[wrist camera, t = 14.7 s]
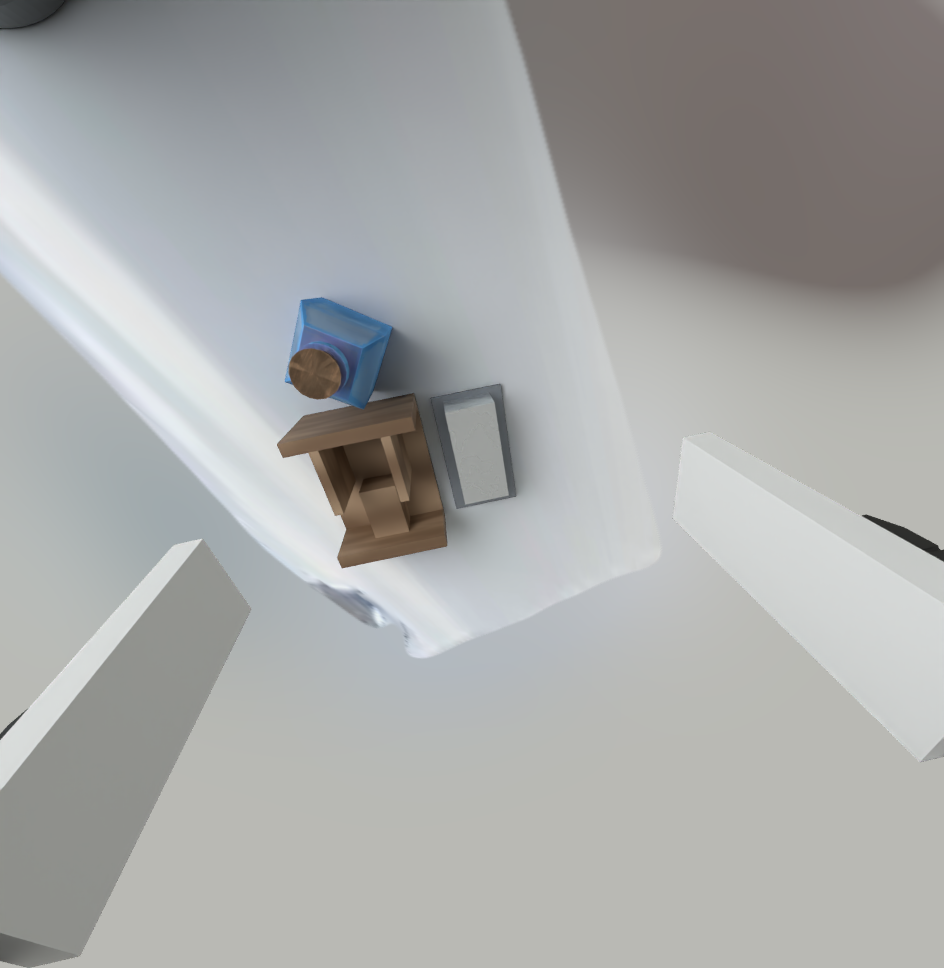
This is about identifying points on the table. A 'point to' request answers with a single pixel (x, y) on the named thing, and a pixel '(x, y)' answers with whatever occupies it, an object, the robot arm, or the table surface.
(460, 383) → the table surface
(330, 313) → the perfume bottle
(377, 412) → the pocket jig
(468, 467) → the bar
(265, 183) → the table surface
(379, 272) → the table surface
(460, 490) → the slate pad
